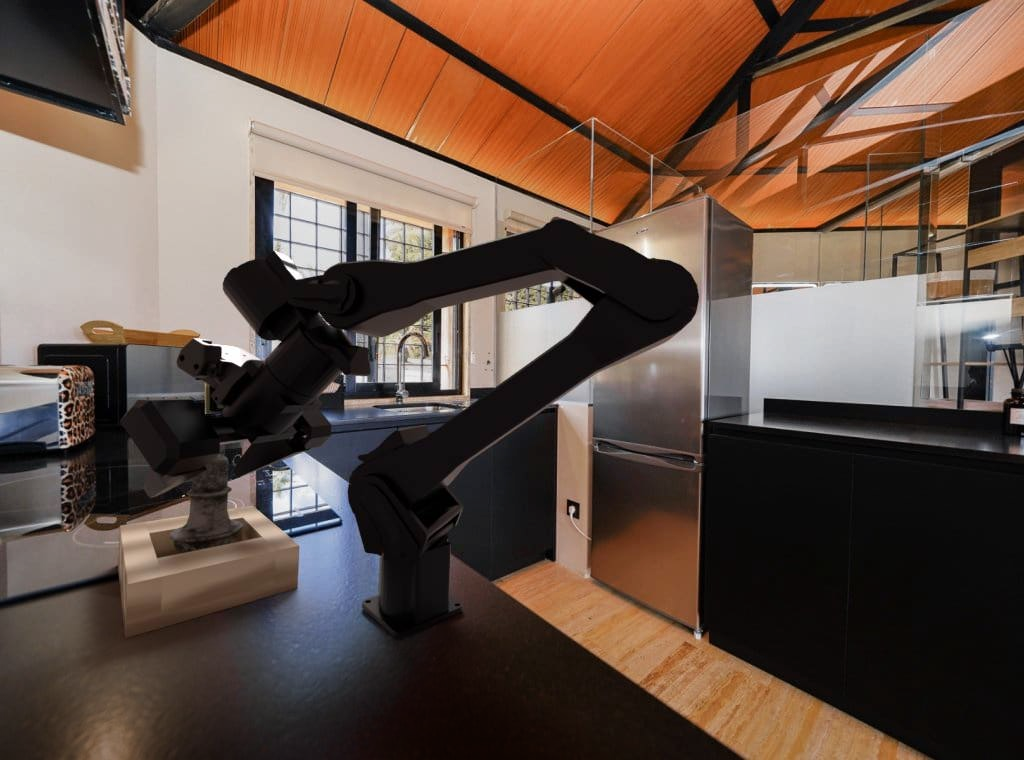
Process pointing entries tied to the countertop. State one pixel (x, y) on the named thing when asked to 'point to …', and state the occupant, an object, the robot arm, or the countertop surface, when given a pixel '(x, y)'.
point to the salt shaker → (208, 511)
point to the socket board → (200, 571)
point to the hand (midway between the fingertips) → (196, 482)
